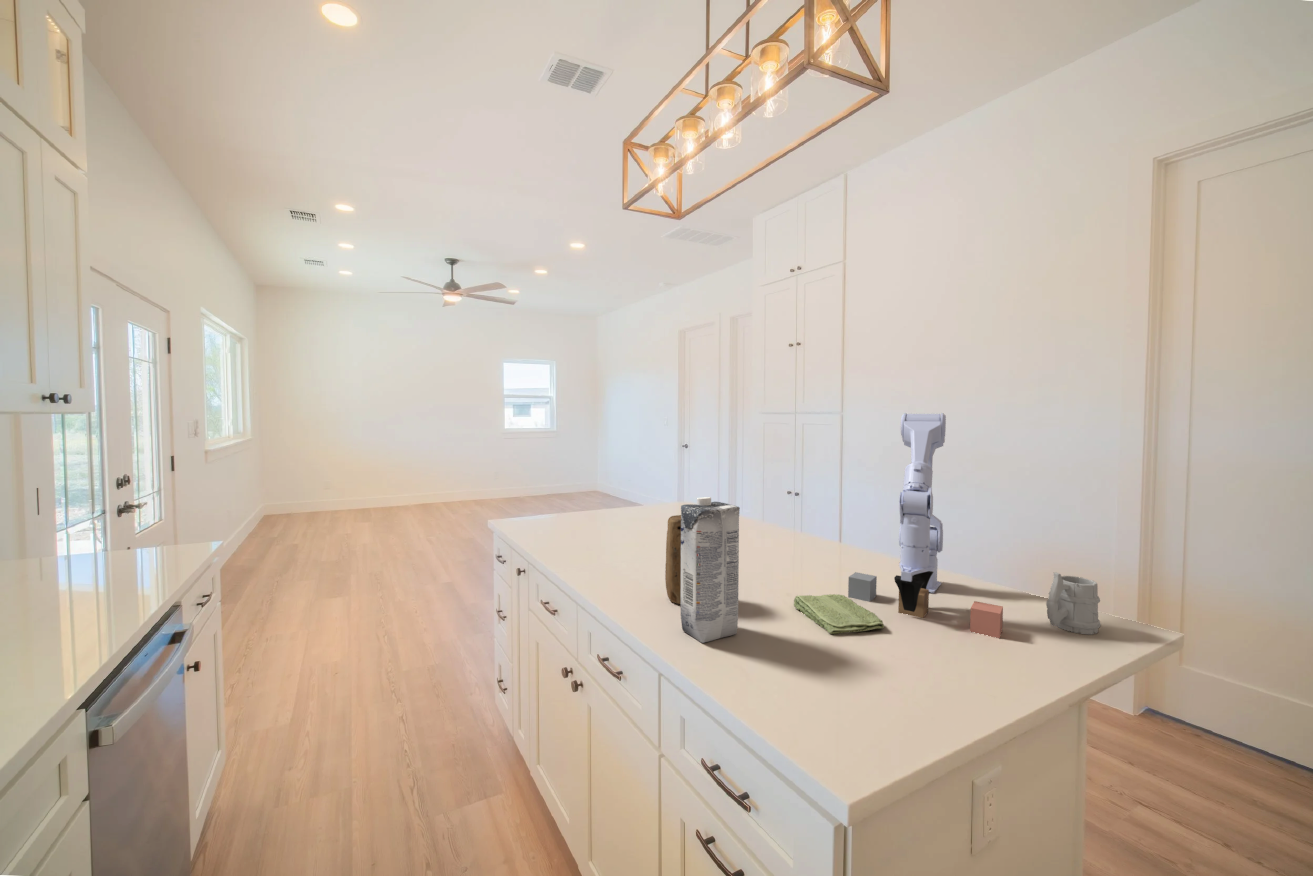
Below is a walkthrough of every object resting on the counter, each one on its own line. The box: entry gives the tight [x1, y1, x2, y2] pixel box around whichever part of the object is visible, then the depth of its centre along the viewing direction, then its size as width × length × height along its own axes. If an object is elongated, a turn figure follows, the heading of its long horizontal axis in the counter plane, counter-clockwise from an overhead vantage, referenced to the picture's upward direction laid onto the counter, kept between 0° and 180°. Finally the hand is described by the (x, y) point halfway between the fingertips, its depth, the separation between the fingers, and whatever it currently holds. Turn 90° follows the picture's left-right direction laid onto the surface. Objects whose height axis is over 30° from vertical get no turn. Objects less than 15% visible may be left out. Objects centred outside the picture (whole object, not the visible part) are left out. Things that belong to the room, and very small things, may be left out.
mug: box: [1045, 571, 1102, 635], centre depth 107 cm, size 8×12×12 cm, turn 108°
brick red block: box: [969, 600, 1004, 639], centre depth 106 cm, size 5×5×5 cm
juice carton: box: [680, 496, 740, 644], centre depth 104 cm, size 9×10×27 cm
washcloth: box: [793, 593, 885, 636], centre depth 113 cm, size 13×18×3 cm
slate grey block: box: [847, 571, 878, 603], centre depth 126 cm, size 5×5×5 cm
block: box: [664, 514, 681, 605], centre depth 123 cm, size 11×8×20 cm
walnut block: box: [897, 588, 930, 619], centre depth 116 cm, size 5×5×5 cm
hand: (913, 605), depth 116 cm, fingers open, 7 cm apart
